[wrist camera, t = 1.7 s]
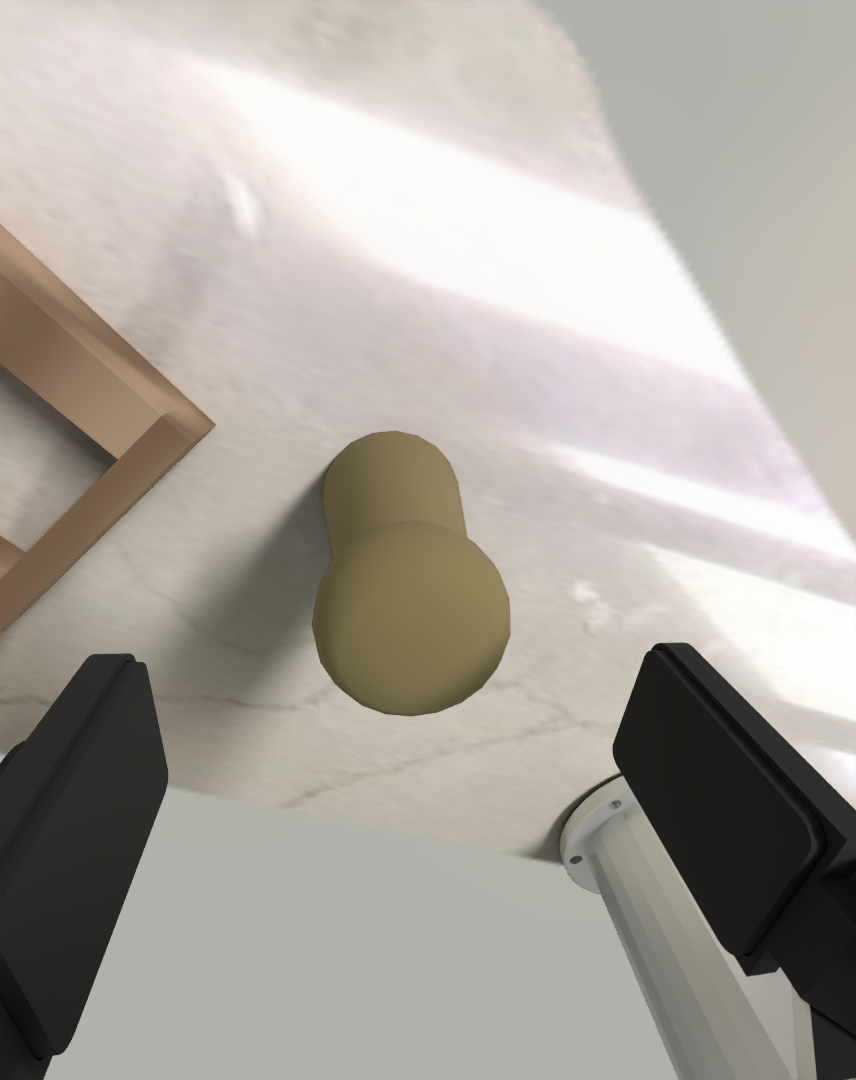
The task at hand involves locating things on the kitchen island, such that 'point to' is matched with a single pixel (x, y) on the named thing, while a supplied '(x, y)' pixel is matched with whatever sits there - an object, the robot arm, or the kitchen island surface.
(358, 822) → the kitchen island surface
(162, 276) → the kitchen island surface
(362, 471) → the tan rounded tapered piece
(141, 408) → the walnut holder
